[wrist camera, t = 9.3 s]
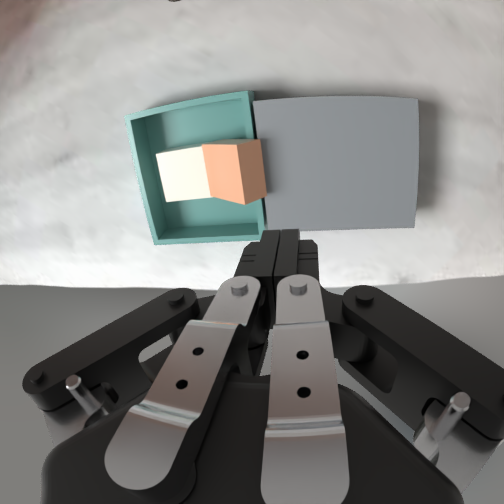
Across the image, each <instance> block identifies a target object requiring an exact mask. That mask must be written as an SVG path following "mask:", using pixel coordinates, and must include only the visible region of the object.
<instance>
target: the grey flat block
mask: <svg viewBox="0 0 504 504" xmlns="http://www.w3.org/2000/svg"><path fill="white" fill-rule="evenodd" d="M253 107H254V115H255V123H256V130H257V138H258V139H260V142H261V150H262V158H263V166H264V174H265V183H266V192H267V196H266V197H265V206H266V214H267V223H268V230H279V229H281V231H282V229H299V231H321V230H350V229H384V228H414V226H415V216H416V205H417V191H418V172H419V110H418V99H416V98H404V97H387V96H313V97H295V98H281V99H270V100H260V101H253Z"/></svg>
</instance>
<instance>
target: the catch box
mask: <svg viewBox="0 0 504 504" xmlns="http://www.w3.org/2000/svg"><path fill="white" fill-rule="evenodd" d="M253 101H255V98H254V91H240V92H233V93H226V94H220V95H214V96H208V97H202V98H197V99H192V100H187V101H182V102H177V103H173V104H168V105H164V106H160V107H155V108H151V109H147V110H144V111H140V112H136V113H132V114H129V115H125V116H124V117H125V123H126V128H127V133H128V138H129V143H130V148H131V153H132V158H133V162H134V167H135V171H136V176H137V180H138V184H139V188H140V192H141V196H142V200H143V204H144V208H145V212H146V216H147V220H148V224H149V227H150V231H151V234H152V238H153V242H154V245H166V244H187V243H208V242H230V241H253V240H260V239H261V236H262V233H263V230H268V223H267V214H266V206H265V197H263V198H261V199H259V200H256V201H254V202H251V203H249V204H246V205H243V204H239V203H235V202H231V201H228V200H224V199H220V198H216V197H211V198H201V199H191V200H181V201H172V202H166V199H165V194H164V190H163V186H162V181H161V177H160V172H159V167H158V162H157V158H156V154H157V153H159V152H161V151H163V150H165V149H169V148H175V147H180V146H186V145H193V144H199V143H206V142H213V141H217V140H222V139H258V138H257V130H256V123H255V115H254V107H253Z"/></svg>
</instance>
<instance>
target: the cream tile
mask: <svg viewBox="0 0 504 504" xmlns="http://www.w3.org/2000/svg"><path fill="white" fill-rule="evenodd" d="M206 143H209V142H206ZM202 144H205V143H199V144H193V145H186V146H180V147H175V148H169V149H165V150H163V151H161V152H159V153H157V154H156V158H157V162H158V167H159V172H160V177H161V181H162V186H163V190H164V194H165V199H166V202H172V201H181V200H191V199H201V198H211V196H210V190H209V185H208V179H207V173H206V168H205V162H204V156H203V150H202Z"/></svg>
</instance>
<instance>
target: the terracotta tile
mask: <svg viewBox="0 0 504 504" xmlns="http://www.w3.org/2000/svg"><path fill="white" fill-rule="evenodd" d="M202 150H203V156H204V162H205V168H206V173H207V179H208V185H209V190H210V196H211V197H216V198H220V199H224V200H228V201H231V202H235V203H239V204H243V205H246V204H249V203H251V202H254V201H256V200H259V199H261V198H263V197H266V196H267V192H266V183H265V174H264V166H263V158H262V150H261V142H260V139H222V140H217V141H213V142H209V143H205V144H202Z"/></svg>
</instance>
